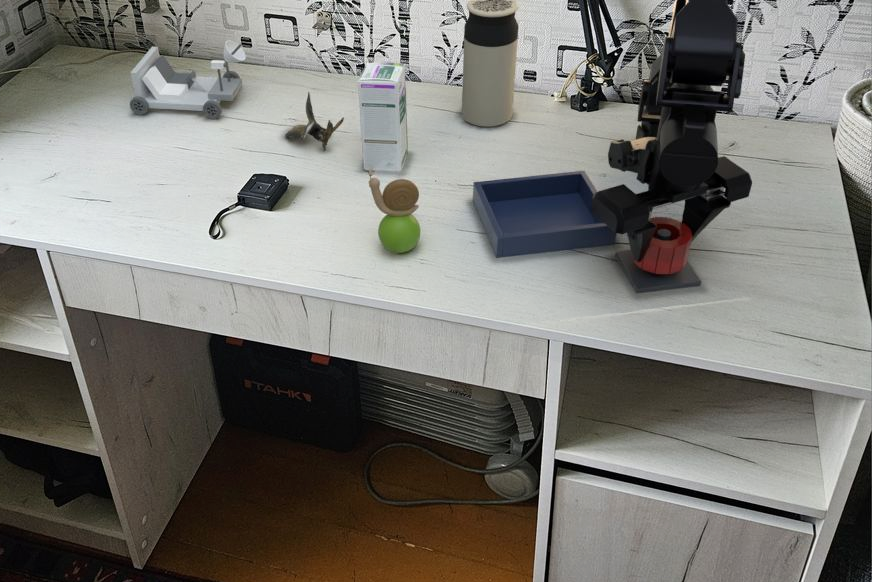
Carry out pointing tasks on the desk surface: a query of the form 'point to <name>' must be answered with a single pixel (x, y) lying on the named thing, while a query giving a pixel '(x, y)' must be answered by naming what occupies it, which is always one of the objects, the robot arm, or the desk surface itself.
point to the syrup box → (383, 116)
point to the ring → (667, 248)
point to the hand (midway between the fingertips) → (659, 253)
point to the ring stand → (656, 282)
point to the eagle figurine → (313, 127)
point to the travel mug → (489, 62)
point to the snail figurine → (397, 213)
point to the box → (540, 214)
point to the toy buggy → (184, 84)
